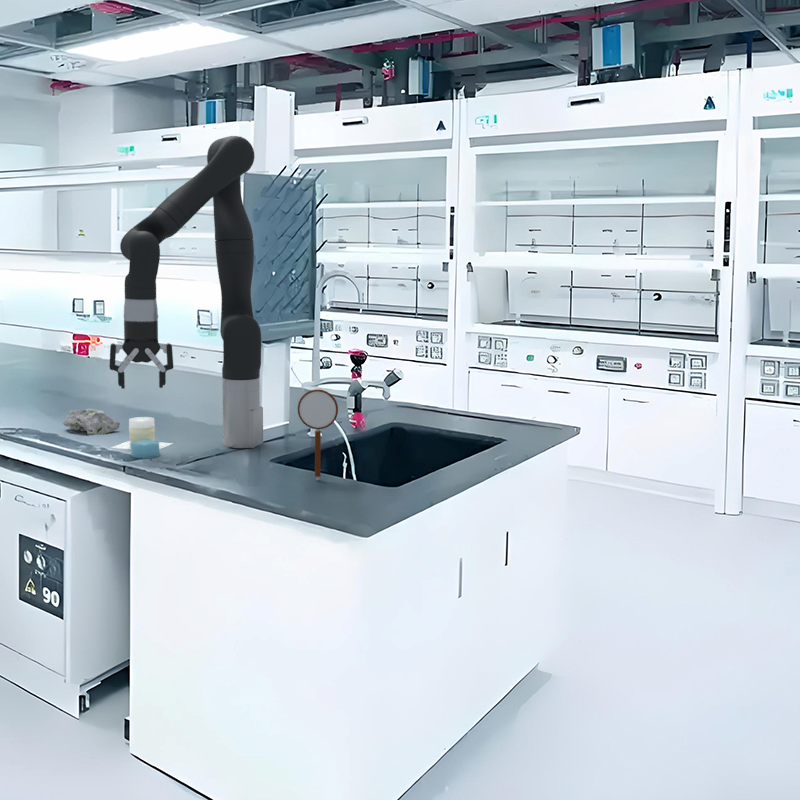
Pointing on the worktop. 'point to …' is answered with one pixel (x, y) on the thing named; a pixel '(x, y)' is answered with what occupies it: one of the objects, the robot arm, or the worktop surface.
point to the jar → (141, 429)
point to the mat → (127, 446)
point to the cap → (145, 449)
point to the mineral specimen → (91, 421)
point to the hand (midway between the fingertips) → (141, 387)
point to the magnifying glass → (317, 417)
